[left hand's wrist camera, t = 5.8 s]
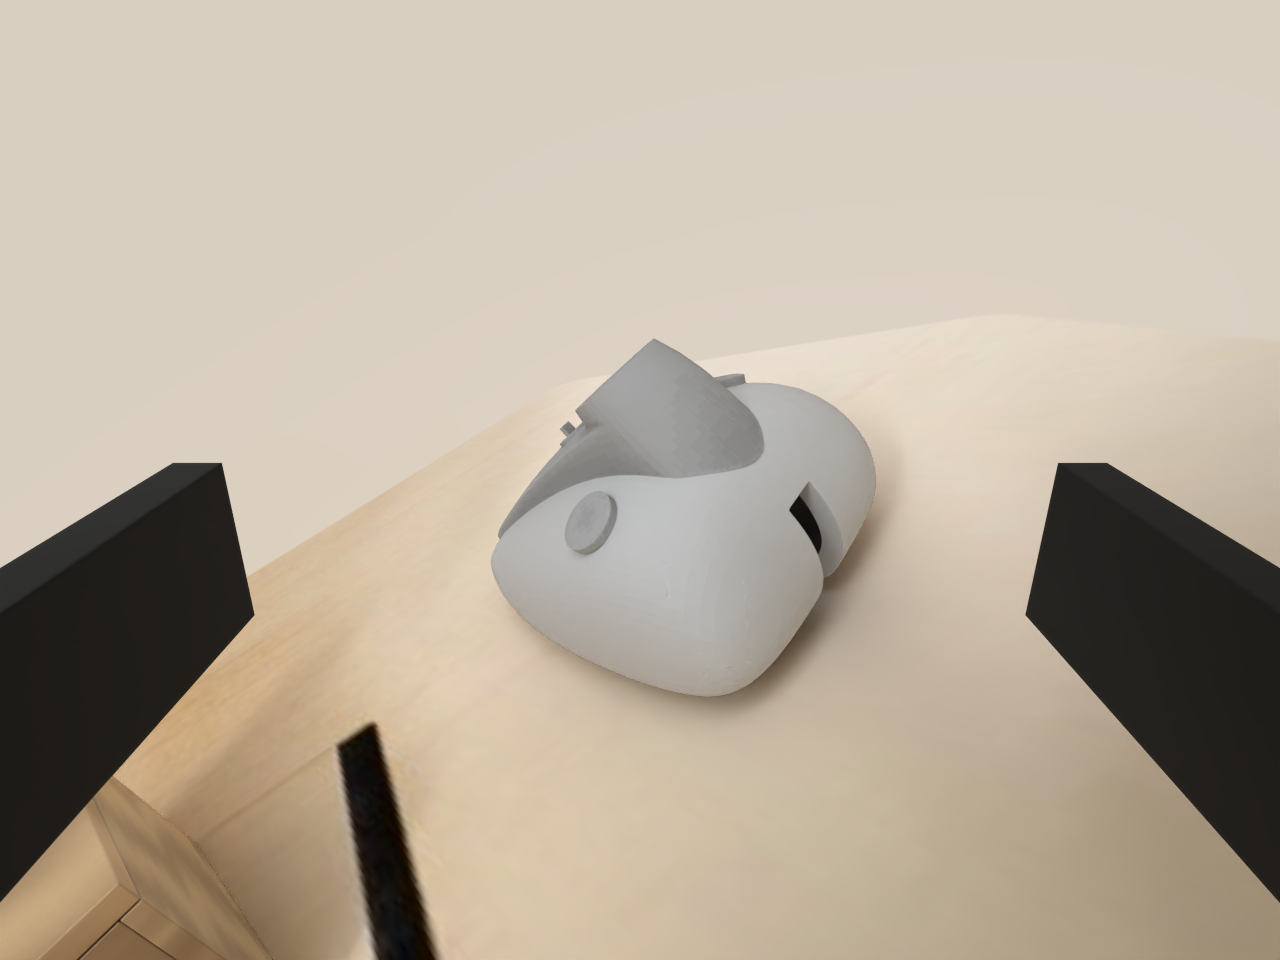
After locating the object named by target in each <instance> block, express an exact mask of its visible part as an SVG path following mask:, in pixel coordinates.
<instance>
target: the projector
mask: <svg viewBox="0 0 1280 960" xmlns="http://www.w3.org/2000/svg"><path fill="white" fill-rule="evenodd" d="M575 411H576V413H577V414H578V416H579V417H580V419H581V420H582V423H581V424H580V425H579V426H578V427H577V428H575V427H574V426H573V425H572V424H571V423H570V422H569V421H568V422H567V423H566V424H565V425H564V426H563V427H561V428H560V430H561V431H562V432H563V433H564V434H565V435H566V436H567V438H566V439H565V440H564V441H563V442H562V443H560V445H561V446H562V447H561V448H560V450H559V451H558V452H557V453H556V454H555V455H554V456H553V457H552V458H551V460H550V461H549V462H548V463H547V464H546V465H545V466H544V468H543V469H542V470H541V471H540V472H539V474H538V475H537V476H536V477H535V479H534V480H533V481H532V482H531V483H530V485H529V486H528V488H527V489H526V490H525V492H524V493H523V494H522V496H521V497H520V499H519V500H518V501H517V503H516V504H515V506H514V507H513V509H512V510H511V512H510V513H509V515H508V516H507V518H506V519H505V521H504V522H503V524H502V526H501V528H500V530H499V533H498V537H499V538H500V540H499V542H498V543H497V545H496V547H495V549H494V552H493V554H492V559H491V566H492V571H493V574H494V577H495V580H496V582H497V584H498V586H499V588H500V590H501V592H502V593H503V595H504V596H505V598H506V599H507V600H508V602H509V603H510V604H511V606H512V607H513V608H514V609H515V610H516V611H517V612H518V613H519V614H520V615H521V616H522V617H523V618H524V619H525V620H526V621H527V622H528V623H529V624H530V625H532V626H533V627H534V628H535V629H536V630H538V631H539V632H540V633H542V634H543V635H545V636H546V637H547V638H549V639H550V640H552V641H554V642H555V643H557V644H558V645H560V646H562V647H563V648H565V649H567V650H569V651H571V652H572V653H574V654H576V655H578V656H580V657H582V658H584V659H586V660H588V661H590V662H592V663H594V664H597V665H599V666H601V667H603V668H606V669H608V670H611V671H613V672H616V673H618V674H620V675H623V676H625V677H628V678H631V679H634V680H636V681H639V682H642V683H645V684H648V685H651V686H654V687H658V688H661V689H664V690H668V691H673V692H677V693H682V694H687V695H694V696H705V697H711V696H721V695H726V694H730V693H733V692H735V691H737V690H739V689H741V688H743V687H745V686H747V685H749V684H750V683H752V682H753V681H754V680H755V679H756V678H758V677H759V676H760V675H761V674H762V673H764V672H765V671H766V670H767V668H768V667H769V666H770V665H771V664H772V663H773V662H774V661H775V660H776V659H777V657H778V656H779V655H780V654H781V652H782V651H783V650H784V649H785V647H786V646H787V645H788V643H789V642H790V641H791V639H792V638H793V636H794V635H795V633H796V632H797V630H798V629H799V627H800V626H801V625H802V623H803V622H804V620H805V619H806V617H807V615H808V614H809V612H810V611H811V609H812V608H813V606H814V605H815V603H816V601H817V600H818V598H819V596H820V594H821V591H822V587H823V579H824V578H827V577H828V576H830V575H831V574H832V573H833V572H834V571H835V570H836V569H837V568H838V566H839V564H840V563H841V561H842V560H843V558H844V556H845V555H846V553H847V551H848V550H849V548H850V546H851V545H852V543H853V541H854V539H855V538H856V536H857V534H858V532H859V530H860V528H861V526H862V524H863V522H864V521H865V519H866V517H867V514H868V512H869V509H870V507H871V504H872V502H873V498H874V494H875V488H876V474H875V467H874V462H873V459H872V456H871V452H870V450H869V447H868V445H867V443H866V442H865V440H864V438H863V436H862V435H861V433H860V432H859V431H858V429H857V428H856V427H855V426H854V425H853V423H852V422H851V421H850V420H849V419H848V418H847V417H846V416H845V415H844V414H842V413H841V412H840V411H839V410H838V409H837V408H835V407H834V406H833V405H831V404H829V403H828V402H826V401H825V400H823V399H821V398H820V397H818V396H816V395H813V394H811V393H809V392H806V391H804V390H801V389H798V388H794V387H789V386H785V385H780V384H772V383H746V382H745V377H744V374H731V375H725V376H720V377H715V378H714V377H712V376H711V375H710V374H709V373H707V372H706V371H705V370H704V369H703V368H701V367H700V366H698V365H697V364H696V363H694V362H693V361H691V360H690V359H688V358H687V357H685V356H684V355H683V354H681V353H680V352H678V351H676V350H674V349H673V348H671V347H669V346H667V345H665V344H663V343H661V342H660V341H658V340H656V339H653V340H651V341H650V342H649V343H648V344H647V345H646V346H644V347H643V348H642V349H641V350H640V351H639V352H638V353H637V354H635V355H634V356H633V357H632V358H631V359H630V360H629V361H628V362H627V363H626V364H624V365H623V366H622V367H621V368H620V369H619V370H618V371H617V372H616V373H614V374H613V375H612V376H611V377H610V378H609V379H608V380H607V381H606V382H605V383H604V384H603V385H602V386H600V387H599V388H598V389H597V390H596V391H595V392H594V393H593V394H592V395H591V396H590V397H589V398H588V399H587V400H586V401H584V402H583V403H582V404H581V405H580V406H579V407H578V408H577V409H576V410H575Z"/></svg>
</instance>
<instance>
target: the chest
mask: <svg viewBox="0 0 1280 960" xmlns="http://www.w3.org/2000/svg"><path fill="white" fill-rule="evenodd" d="M93 800H94V802H95V804H96V806H97V809H98V811H99V813H100V815H101V817H102V819H103V821H104V823H105V825H106V827H107V830H108V832H109V834H110V836H111V838H112V840H113V842H114V844H115V846H116V849H117V851H118V853H119V855H120V857H121V859H122V861H123V863H124V865H125V868H126V870H127V872H128V874H129V876H130V878H131V880H132V882H133V884H134V886H135V889H136V891H137V893H138V895H139V897H140V898H139V900H138V901H137V902H136V903H135V904H134V905H133V906H132V907H131V908H130V909H129V910H128V911H127V912H126V913H125V914H124V915H123V916H122V917H121V918H119V919H118V920H117V921H116V922H115V923H114V924H113V925H112V926H111V927H110V928H109V929H108V930H107V931H106V932H105V933H104V934H103V935H102V936H101V937H100V938H99V939H98V940H97V941H96V942H95V943H94V944H93V945H92V946H91V947H90V948H89V949H87V950H86V951H85V952H84V953H83V954H82V955H81V956H80V957H79V958H78V959H77V960H272V958H271V957H270V955H269V954H268V952H267V951H266V949H265V948H264V946H263V945H262V943H261V941H260V940H259V938H258V937H257V935H256V934H255V932H254V931H253V929H252V928H251V926H250V925H249V923H248V922H247V920H246V919H245V917H244V916H243V914H242V913H241V911H240V910H239V908H238V906H237V905H236V903H235V902H234V900H233V899H232V897H231V896H230V894H229V893H228V891H227V890H226V888H225V887H224V885H223V884H222V882H221V881H220V879H219V878H218V876H217V875H216V873H215V871H214V870H213V868H212V867H211V865H210V864H209V862H208V861H207V859H206V858H205V856H204V855H203V853H202V852H201V850H200V849H199V847H198V846H197V844H196V843H195V842H194V841H193V840H192V839H190V838H189V837H188V836H186V835H185V834H184V833H183V832H182V831H180V830H179V829H178V828H177V827H175V826H174V825H173V824H172V823H171V822H169V821H168V820H167V819H166V818H164V817H163V816H162V815H161V814H159V813H158V812H157V811H156V810H154V809H153V808H152V807H151V806H149V805H148V804H147V803H146V802H144V801H143V800H142V799H141V798H140V797H138V796H137V795H136V794H135V793H133V792H132V791H131V790H130V789H128V788H127V787H126V786H125V785H123V784H122V783H121V782H120V781H118V780H117V779H116V778H115V777H113V776H112V777H111V778H110V779H109V780H108V781H107V782H106V784H105V785H104V786H103V787H102V788H101V789H100V790H99V791H98V793H97V794H96V795H95V796H94V797H93Z"/></svg>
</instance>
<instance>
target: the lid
mask: <svg viewBox="0 0 1280 960" xmlns="http://www.w3.org/2000/svg"><path fill="white" fill-rule="evenodd" d="M139 898H140V897H139V895H138V893H137V891H136V889H135V886H134V884H133V882H132V880H131V878H130V876H129V874H128V872H127V870H126V868H125V865H124V863H123V861H122V859H121V857H120V855H119V853H118V851H117V849H116V846H115V844H114V842H113V840H112V838H111V836H110V834H109V832H108V830H107V827H106V825H105V823H104V821H103V819H102V817H101V815H100V813H99V811H98V809H97V806H96V804H95V802H94V800H93V798H92V799H91V801H90V802H89V803H88V804H87V805H86V806H85V807H84V808H83V810H82V811H81V812H80V813H79V814H78V815H77V816H76V817H75V819H74V820H73V821H72V822H71V823H70V824H69V825H68V827H67V828H66V829H65V830H64V831H63V832H62V833H61V834H60V836H59V837H58V838H57V839H56V840H55V841H54V842H53V844H52V845H51V846H50V847H49V848H48V849H47V850H46V851H45V853H44V854H43V855H42V856H41V857H40V858H39V859H38V860H37V862H36V863H35V864H34V865H33V866H32V867H31V868H30V870H29V871H28V872H27V873H26V874H25V875H24V876H23V877H22V879H21V880H20V881H19V882H18V883H17V884H16V885H15V886H14V888H13V889H12V890H11V891H10V892H9V893H8V894H7V896H6V897H5V898H4V899H3V900H2V901H1V902H0V960H77V959H78V958H79V957H80V956H81V955H82V954H83V953H84V952H85V951H86V950H87V949H89V948H90V947H91V946H92V945H93V944H94V943H95V942H96V941H97V940H98V939H99V938H100V937H101V936H102V935H103V934H104V933H105V932H106V931H107V930H108V929H109V928H110V927H111V926H112V925H113V924H114V923H115V922H116V921H117V920H118V919H119V918H121V917H122V916H123V915H124V914H125V913H126V912H127V911H128V910H129V909H130V908H131V907H132V906H133V905H134V904H135V903H136V902H137V901H138V900H139Z"/></svg>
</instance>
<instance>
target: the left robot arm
mask: <svg viewBox="0 0 1280 960" xmlns="http://www.w3.org/2000/svg"><path fill="white" fill-rule="evenodd" d="M253 616H254V610H253V606H252V601H251V596H250V592H249V587H248V582H247V578H246V573H245V569H244V564H243V559H242V555H241V550H240V545H239V541H238V536H237V531H236V527H235V522H234V518H233V513H232V508H231V504H230V499H229V494H228V490H227V485H226V480H225V476H224V471H223V467H222V463H172V464H171V465H169V466H167V467H166V468H164V469H162V470H161V471H159V472H157V473H156V474H154V475H153V476H151V477H149V478H148V479H146V480H144V481H143V482H141V483H139V484H138V485H136V486H134V487H133V488H131V489H129V490H128V491H126V492H125V493H123V494H121V495H120V496H118V497H116V498H115V499H113V500H111V501H110V502H108V503H107V504H105V505H103V506H102V507H100V508H98V509H97V510H95V511H93V512H92V513H90V514H89V515H87V516H85V517H84V518H82V519H80V520H79V521H77V522H75V523H74V524H72V525H70V526H69V527H67V528H65V529H64V530H62V531H60V532H59V533H57V534H56V535H54V536H52V537H51V538H49V539H47V540H46V541H44V542H42V543H41V544H39V545H37V546H36V547H34V548H33V549H31V550H29V551H28V552H26V553H24V554H23V555H21V556H19V557H18V558H16V559H14V560H13V561H11V562H10V563H8V564H6V565H5V566H3V567H1V568H0V902H1V901H2V900H3V899H4V898H5V897H6V896H7V894H8V893H9V892H10V891H11V890H12V889H13V888H14V886H15V885H16V884H17V883H18V882H19V881H20V880H21V879H22V877H23V876H24V875H25V874H26V873H27V872H28V871H29V870H30V868H31V867H32V866H33V865H34V864H35V863H36V862H37V860H38V859H39V858H40V857H41V856H42V855H43V854H44V853H45V851H46V850H47V849H48V848H49V847H50V846H51V845H52V844H53V842H54V841H55V840H56V839H57V838H58V837H59V836H60V834H61V833H62V832H63V831H64V830H65V829H66V828H67V827H68V825H69V824H70V823H71V822H72V821H73V820H74V819H75V817H76V816H77V815H78V814H79V813H80V812H81V811H82V810H83V808H84V807H85V806H86V805H87V804H88V803H89V802H90V801H91V799H92V798H93V797H94V796H95V795H96V794H97V793H98V791H99V790H100V789H101V788H102V787H103V786H104V785H105V784H106V782H107V781H108V780H109V779H110V778H111V777H112V776H113V774H114V773H115V772H116V771H117V770H118V769H119V768H120V767H121V765H122V764H123V763H124V762H125V761H126V760H127V759H128V758H129V756H130V755H131V754H132V753H133V752H134V751H135V750H136V748H137V747H138V746H139V745H140V744H141V743H142V742H143V741H144V739H145V738H146V737H147V736H148V735H149V734H150V733H151V732H152V730H153V729H154V728H155V727H156V726H157V725H158V724H159V722H160V721H161V720H162V719H163V718H164V717H165V716H166V715H167V713H168V712H169V711H170V710H171V709H172V708H173V707H174V705H175V704H176V703H177V702H178V701H179V700H180V699H181V698H182V696H183V695H184V694H185V693H186V692H187V691H188V690H189V689H190V687H191V686H192V685H193V684H194V683H195V682H196V681H197V679H198V678H199V677H200V676H201V675H202V674H203V673H204V672H205V670H206V669H207V668H208V667H209V666H210V665H211V664H212V663H213V661H214V660H215V659H216V658H217V657H218V656H219V655H220V653H221V652H222V651H223V650H224V649H225V648H226V647H227V646H228V644H229V643H230V642H231V641H232V640H233V639H234V638H235V636H236V635H237V634H238V633H239V632H240V631H241V630H242V629H243V627H244V626H245V625H246V624H247V623H248V622H249V621H250V620H251V618H252V617H253ZM1026 616H1027V617H1028V618H1029V620H1030V621H1031V622H1032V623H1033V624H1034V625H1035V626H1036V627H1037V629H1038V630H1039V631H1040V632H1041V633H1042V634H1043V635H1044V636H1045V638H1046V639H1047V640H1048V641H1049V642H1050V643H1051V644H1052V646H1053V647H1054V648H1055V649H1056V650H1057V651H1058V652H1059V653H1060V655H1061V656H1062V657H1063V658H1064V659H1065V660H1066V661H1067V663H1068V664H1069V665H1070V666H1071V667H1072V668H1073V669H1074V670H1075V672H1076V673H1077V674H1078V675H1079V676H1080V677H1081V678H1082V679H1083V681H1084V682H1085V683H1086V684H1087V685H1088V686H1089V687H1090V689H1091V690H1092V691H1093V692H1094V693H1095V694H1096V695H1097V696H1098V698H1099V699H1100V700H1101V701H1102V702H1103V703H1104V704H1105V705H1106V707H1107V708H1108V709H1109V710H1110V711H1111V712H1112V713H1113V715H1114V716H1115V717H1116V718H1117V719H1118V720H1119V721H1120V722H1121V724H1122V725H1123V726H1124V727H1125V728H1126V729H1127V730H1128V732H1129V733H1130V734H1131V735H1132V736H1133V737H1134V738H1135V739H1136V741H1137V742H1138V743H1139V744H1140V745H1141V746H1142V747H1143V748H1144V750H1145V751H1146V752H1147V753H1148V754H1149V755H1150V756H1151V758H1152V759H1153V760H1154V761H1155V762H1156V763H1157V764H1158V765H1159V767H1160V768H1161V769H1162V770H1163V771H1164V772H1165V773H1166V775H1167V776H1168V777H1169V778H1170V779H1171V780H1172V781H1173V782H1174V784H1175V785H1176V786H1177V787H1178V788H1179V789H1180V790H1181V791H1182V793H1183V794H1184V795H1185V796H1186V797H1187V798H1188V799H1189V801H1190V802H1191V803H1192V804H1193V805H1194V806H1195V807H1196V808H1197V810H1198V811H1199V812H1200V813H1201V814H1202V815H1203V816H1204V817H1205V819H1206V820H1207V821H1208V822H1209V823H1210V824H1211V825H1212V827H1213V828H1214V829H1215V830H1216V831H1217V832H1218V833H1219V834H1220V836H1221V837H1222V838H1223V839H1224V840H1225V841H1226V842H1227V844H1228V845H1229V846H1230V847H1231V848H1232V849H1233V850H1234V851H1235V853H1236V854H1237V855H1238V856H1239V857H1240V858H1241V859H1242V860H1243V862H1244V863H1245V864H1246V865H1247V866H1248V867H1249V868H1250V870H1251V871H1252V872H1253V873H1254V874H1255V875H1256V876H1257V877H1258V879H1259V880H1260V881H1261V882H1262V883H1263V884H1264V885H1265V886H1266V888H1267V889H1268V890H1269V891H1270V892H1271V893H1272V894H1273V896H1274V897H1275V898H1276V899H1277V900H1278V901H1279V902H1280V568H1279V567H1277V566H1275V565H1274V564H1272V563H1270V562H1269V561H1267V560H1266V559H1264V558H1262V557H1261V556H1259V555H1257V554H1256V553H1254V552H1252V551H1251V550H1249V549H1247V548H1246V547H1244V546H1243V545H1241V544H1239V543H1238V542H1236V541H1234V540H1233V539H1231V538H1229V537H1228V536H1226V535H1224V534H1223V533H1221V532H1220V531H1218V530H1216V529H1215V528H1213V527H1211V526H1210V525H1208V524H1206V523H1205V522H1203V521H1201V520H1200V519H1198V518H1197V517H1195V516H1193V515H1192V514H1190V513H1188V512H1187V511H1185V510H1183V509H1182V508H1180V507H1178V506H1177V505H1175V504H1174V503H1172V502H1170V501H1169V500H1167V499H1165V498H1164V497H1162V496H1160V495H1159V494H1157V493H1155V492H1154V491H1152V490H1151V489H1149V488H1147V487H1146V486H1144V485H1142V484H1141V483H1139V482H1137V481H1136V480H1134V479H1132V478H1131V477H1129V476H1127V475H1126V474H1124V473H1123V472H1121V471H1119V470H1118V469H1116V468H1114V467H1113V466H1111V465H1109V464H1108V463H1058V466H1057V471H1056V476H1055V480H1054V485H1053V490H1052V494H1051V499H1050V504H1049V508H1048V513H1047V517H1046V522H1045V527H1044V531H1043V536H1042V541H1041V545H1040V550H1039V555H1038V559H1037V564H1036V568H1035V573H1034V578H1033V582H1032V587H1031V592H1030V596H1029V601H1028V606H1027V610H1026Z"/></svg>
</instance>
